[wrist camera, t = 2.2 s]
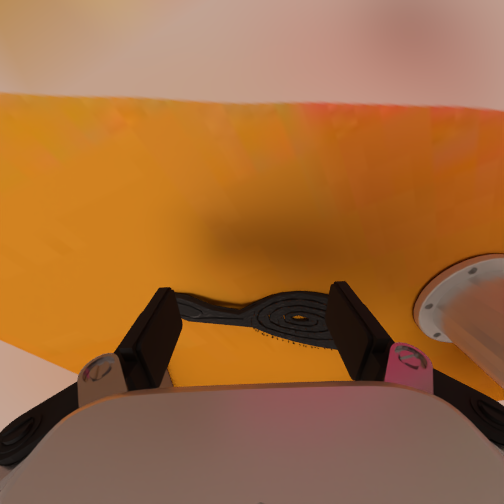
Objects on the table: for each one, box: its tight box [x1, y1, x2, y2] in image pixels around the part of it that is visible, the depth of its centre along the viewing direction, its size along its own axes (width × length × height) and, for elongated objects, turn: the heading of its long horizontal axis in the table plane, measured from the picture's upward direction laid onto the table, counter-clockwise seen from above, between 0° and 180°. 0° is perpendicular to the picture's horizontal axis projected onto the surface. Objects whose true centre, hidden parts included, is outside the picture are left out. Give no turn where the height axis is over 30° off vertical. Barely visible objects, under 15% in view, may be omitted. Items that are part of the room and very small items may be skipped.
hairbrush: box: [175, 291, 338, 350], centre depth 24 cm, size 8×4×25 cm
